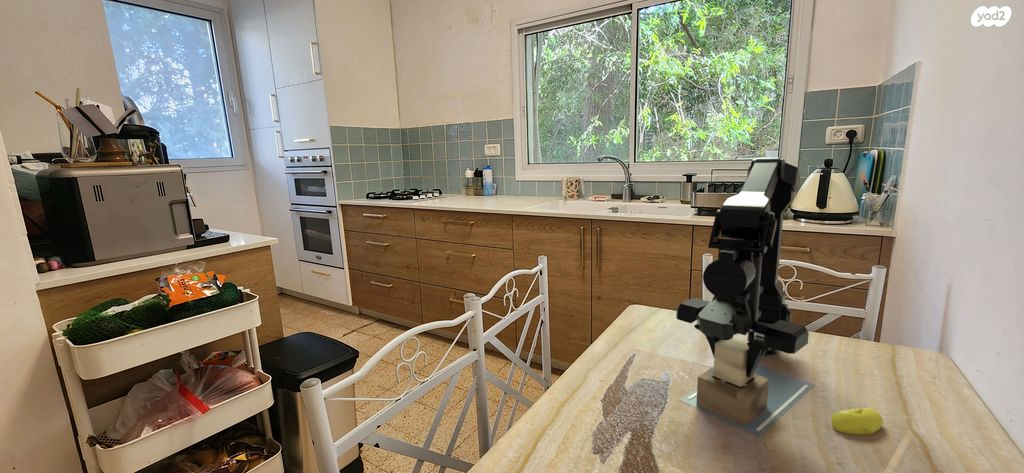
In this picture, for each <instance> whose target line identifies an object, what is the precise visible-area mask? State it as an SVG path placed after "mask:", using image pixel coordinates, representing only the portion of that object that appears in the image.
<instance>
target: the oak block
mask: <svg viewBox="0 0 1024 473" xmlns="http://www.w3.org/2000/svg"><path fill="white" fill-rule="evenodd" d="M748 342H749V341H747V340H744V339H741V338H738V337H735V336H733V338H732V339H730V340H722V339H721V340H719V341H718V342H716V343H715V355H714V356H713V359H714V362H713V367H714V373H713V376H715V377H717V378H720V379H722V380H725V381H727V382H730V383H732V384H735V385H737V386H740V387H741V386H742V385H744V384H745V383H747V382H748V381H749V380H751V379H752V378H753V377H754V373H753V374H752V376H751V377H747V374H746V368H747V362H748V355H749V347H748V345H747V343H748Z"/></svg>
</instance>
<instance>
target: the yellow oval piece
mask: <svg viewBox="0 0 1024 473" xmlns="http://www.w3.org/2000/svg"><path fill="white" fill-rule="evenodd" d="M883 421H884V420H883V418H882V416H881V415H880V413H879V412H877V411H876V410H874V409H872V408H868V407H867V408H866V407H864V408H849V409H845V410H844V409H843V410H838V411H835V413H833V414H832V416H831V426H832V428H833V429H834V430H835V431H838V432H840V433H843V434H849V435H872V434H875V433H876V432H877V431H879V430H880V429H881V428H882V427H883Z"/></svg>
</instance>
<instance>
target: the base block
mask: <svg viewBox="0 0 1024 473" xmlns="http://www.w3.org/2000/svg"><path fill="white" fill-rule="evenodd" d="M713 373H714V366H712V367H711V368H709V369H708V370H706V371H705V372H703V373H701V374H700V375H698V376H697V383H696V384H697V385H696V387H697V388H696V389H697V403H696V404H697V405H699V406H701V407H703V408H705V409H708V410H710V411H712V412H714V413H716V414H718V415H721V416H723V417H725V418H727V419H729V420H731V421H733V422H736V423H738V424H740V425H742V426H744V427H745V426H746V425H747V424H748V423H749V422H750V421H752V420H753V419H754V418H755V417H756V416H757V415H759V414H760V413H761V412H762V411H763V410H764V409H766V408H767V400H768V388H769V379H768V378H765V377H762V376H759V375H757V374H754V377H753V378H752V379H751V380H749V381H748V382H747V383H745V384H744V385H742V386H741V387H740V386H737V385H735V384H732V383H730V382H727V381H725V380H722V379H720V378H717V377H715V376H713Z"/></svg>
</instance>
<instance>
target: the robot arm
mask: <svg viewBox="0 0 1024 473" xmlns="http://www.w3.org/2000/svg"><path fill="white" fill-rule="evenodd" d="M747 168H748V169H747V175H746V179H745V182H744V183H743V185H742V187H741V189H740V191H739V193H738V194H736V195H732V196H730V197H728V198H726V199H725V201H724V202H723V204H722V205H721V206H720V209H717V210H716V212H715V216H714V222H713V225H712V228H711V229H712V230H711V233H710V237H709V242H708V245H707V246H708V247H707V248H708V249H716V250H718V254H717V257H716V259H713V261H711V262H710V263H708V265H707V266H706V267H705V270H703V273H702V279H703V280H702V281H703V285H704V286H705V288H706V290H708V291H709V293H710V294H712V295H713V298H712V300H711V301H709V300H705V299H701V298H697V297H692V298H690V299H688V300H686V301H684V302H681V303H679V304H678V305H677V308H676V314H675V315H676V316H675V319H677V320H679V321H682V322H685V323H688V324H693V323H694V322H696V323H695V324H694V329H695V330H698V331H700V332H701V334H703V335H704V336H705V338H706V340H707V342H708V344H709V346H710V350H711V352H712V356H713V357H714V355H715V343H716V342H718V341H719V340H721V339H722V340H730V339H732V338H733V337H735V336H737V335H738V334H739V335H743V336H746V335H747V339H746V341H749V342H748V343H747V345H748V347H749V355H748V362H747V368H746V374H747V377H751V376H752V374H753V373H754V371H755V369H756V368H757V366H758V365H760V362H761V361H762V359H763V357H764V356H773V355H777V353H778V351H779V352H783V353H785V354H790V355H791V354H792V355H794V354H796V353H798V351H800V350H802V348H804V347H806V345H807V344H808V343H809V331H808V329H807V328H806V327H805V325H801V324H798V323H794V322H792V311H790V308H789V305H788V304H786V293H785V291H784V289H783V288H782V286H781V284H780V282H779V268H780V259H781V246H782V235H783V234H782V233H783V222H784V212H786V209H787V208H788V207H789V206H790V204H792V202H793V201H794V200H795V195H796V192H799V188H800V181H801V180H800V178H801V175H800V171H799V168H798V167H797V166H795V165H792V164H790V163H787V162H786V160H785V158H781V157H778V156H777V157H756V158H752V160H751V162H750V166H749V167H747Z"/></svg>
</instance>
